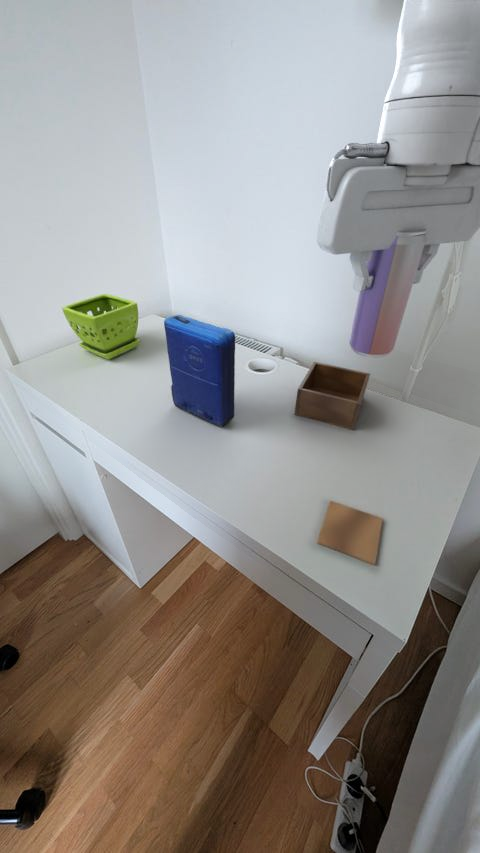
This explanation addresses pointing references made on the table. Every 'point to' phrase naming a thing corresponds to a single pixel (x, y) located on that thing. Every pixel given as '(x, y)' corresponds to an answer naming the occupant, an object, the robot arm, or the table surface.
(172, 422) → the table surface
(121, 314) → the flower pot
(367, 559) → the cork mat
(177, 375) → the blue plastic case
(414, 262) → the beverage can
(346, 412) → the wooden box
